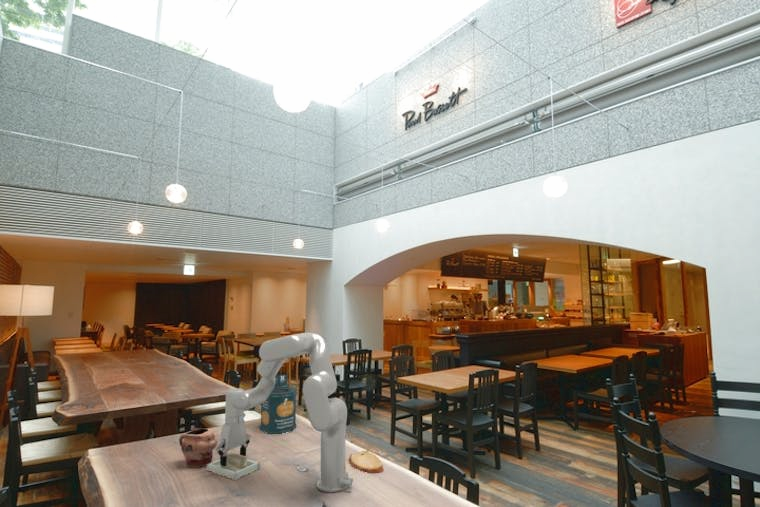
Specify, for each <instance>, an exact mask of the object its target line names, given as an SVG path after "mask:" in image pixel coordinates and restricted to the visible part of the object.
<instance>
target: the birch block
mask: <svg viewBox="0 0 760 507" xmlns="http://www.w3.org/2000/svg"><path fill="white" fill-rule="evenodd" d="M225 456H227V465H226V466H222V465H220V467H222V468H225V469H228V470H231V471H234V472H236V471H239V470H241V469H243V468H246V467H247V459H248V456H247V455H246V456H243V455H240V453H239V454H238V453H234V452H232V451H228V452H227V453H226V455H225Z"/></svg>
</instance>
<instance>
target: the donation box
mask: <svg viewBox="0 0 760 507" xmlns="http://www.w3.org/2000/svg"><path fill="white" fill-rule="evenodd" d="M289 386H290V384H289V383H288V374H279V375H276V376H275V385H274V388H273V390H272V392H271V393H270V395H269V397H268V398H267V399H266V401H265V402H264V403H262V404H260V406H261V408H260V424H259V430H260V429H261V430H260V431H262V430H263V431H262V432H264V431H265V432H267V433H269V434H281V435H283V434H282V433H285V434H287V433H286V432H289V431H293V430H294V429H295V428H297V423H296V422H297V420H296V418H297V417H296V415H297V414H296V413H297V412H296V411H297V409H296V408H297V406H296V405H297V402H296V400H297V389H296V388H293V387H289ZM295 430H296V429H295ZM295 430H294V431H295ZM294 431H293V432H294ZM265 432H264V433H265ZM267 433H266V434H267ZM289 433H290V432H289ZM269 434H268V435H269Z"/></svg>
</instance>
